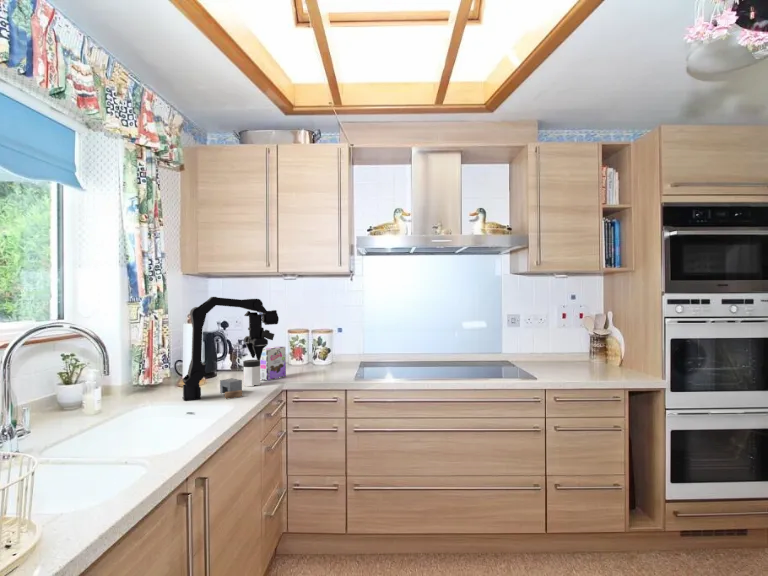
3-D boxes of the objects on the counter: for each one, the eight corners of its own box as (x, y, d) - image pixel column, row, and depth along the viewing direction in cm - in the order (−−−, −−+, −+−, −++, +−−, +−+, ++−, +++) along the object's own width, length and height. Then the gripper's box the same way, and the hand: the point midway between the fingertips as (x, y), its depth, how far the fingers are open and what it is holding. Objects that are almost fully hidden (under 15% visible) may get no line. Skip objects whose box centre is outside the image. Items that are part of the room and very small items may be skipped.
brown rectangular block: (225, 398, 196) (225, 393, 196) (224, 397, 198) (224, 392, 198) (242, 396, 200) (242, 391, 200) (241, 395, 202) (240, 390, 202)
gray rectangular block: (230, 395, 203) (230, 382, 203) (220, 393, 208) (220, 380, 208) (242, 393, 207) (241, 380, 207) (232, 391, 212) (231, 378, 212)
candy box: (267, 381, 235) (266, 349, 235) (259, 380, 238) (258, 348, 238) (286, 376, 246) (285, 346, 246) (278, 375, 249) (278, 345, 249)
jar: (264, 383, 228) (264, 359, 228) (256, 387, 220) (256, 362, 220) (248, 383, 230) (247, 359, 230) (239, 386, 222) (239, 361, 222)
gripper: (278, 325, 209) (279, 359, 209) (266, 323, 225) (267, 355, 225) (254, 327, 203) (254, 362, 203) (243, 324, 219) (244, 357, 219)
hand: (256, 358), depth 213 cm, fingers open, 9 cm apart
